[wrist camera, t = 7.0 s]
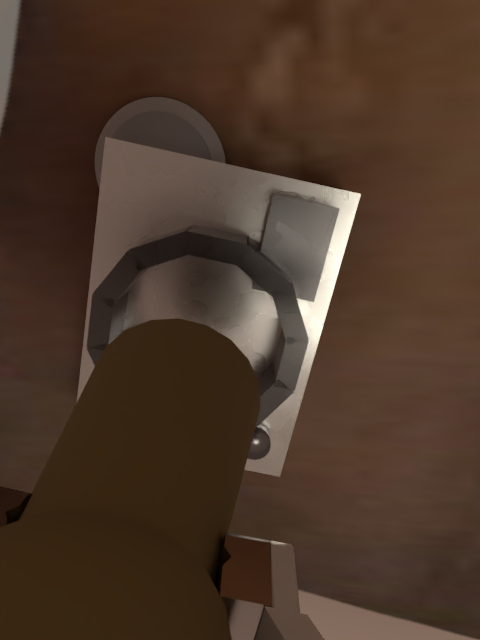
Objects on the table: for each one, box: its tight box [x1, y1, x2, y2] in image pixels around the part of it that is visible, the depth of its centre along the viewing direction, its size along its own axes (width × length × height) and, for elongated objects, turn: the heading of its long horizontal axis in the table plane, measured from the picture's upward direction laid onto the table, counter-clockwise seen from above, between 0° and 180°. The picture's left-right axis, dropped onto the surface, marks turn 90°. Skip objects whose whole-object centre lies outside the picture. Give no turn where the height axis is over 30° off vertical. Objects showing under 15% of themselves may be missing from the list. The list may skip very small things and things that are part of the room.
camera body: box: [77, 137, 361, 477], centre depth 24 cm, size 16×12×6 cm
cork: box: [0, 318, 261, 640], centre depth 11 cm, size 6×6×11 cm
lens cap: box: [95, 97, 226, 189], centre depth 24 cm, size 7×7×1 cm
